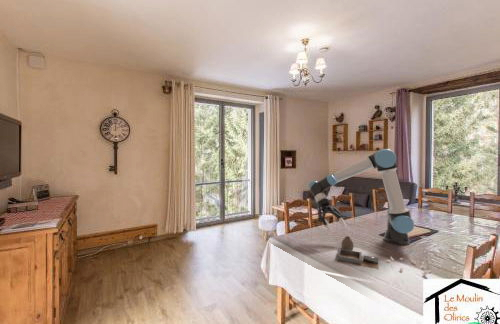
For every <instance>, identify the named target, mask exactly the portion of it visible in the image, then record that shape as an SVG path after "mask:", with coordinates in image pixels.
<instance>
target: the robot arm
mask: <svg viewBox="0 0 500 324" xmlns="http://www.w3.org/2000/svg"><path fill="white" fill-rule="evenodd" d="M370 169H373V170H375V169H376V170H377V172H378V173H379V174H381V179H382V182H383V186H384V189H385V194H386V198H387V203H388V205H389V207H388V208H387V225H386V226H387V227H386V230H385V233H384V236H383V240H384V241H386V242H388V243H390V244H395V245H401V246H402V245H405V246H406V245H410V241H411V240H410V237H409V233H411V232H412V231H413V230H414V229H415V222H414V220H413V219H412V216H411V213H410V209H409V208H407V207H406V205H405V200H404V197H403V193H402V189H401V186H400V182H399V178H398V174H397V170H398V162H397V155H396V153H395V152H394V151H393V150H391V149H389V148H382V149H379V150H377V151H376V152H373V153H372V154H370V155H367V156H366V158H364V159H362V160H360V161H357V162H356V163H353V164H351V165H349V166H347V167H345V168H342V169H340V170H338V171H336V172H333V173H332V174H331V173H330V174H328V175H325V177H324V178H322V179H321V180H319V181H317V180H313V181H310V182H309V183H308V189H309V191H310V193H311V194H312V197H313V198H314V200H315V202H316V203H317V206H318V207H317V209H316V210H317V216H318V221H319V222H321V223H322V224H323V225H324V227H325V228H326V230H327V231H330V230H331V226H330V224H329V222H328V220H327V219H326V215H327V214H332V215H333V216H335V217H336V218H338V221H339V222H340V225H341V226H342V228H343V229H345V228H347V227H348V226H347V224H346V222H345V220H344V217H345V215H344V213H342V212H341V211H340V210H339V209H338V208H337V207H336V206H335V205H334V204H332V205H331V204H330V201H329V199H328V198H327V195H326V194H325V192H324V191H327V190H329V188H332V187H333V186H335V185H336V184H337V183H340V182H342V181H344V180H347V179H349V178H352V177H354V176H357V175H359V174H362V173H363V172H366V171H368V170H370Z"/></svg>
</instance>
